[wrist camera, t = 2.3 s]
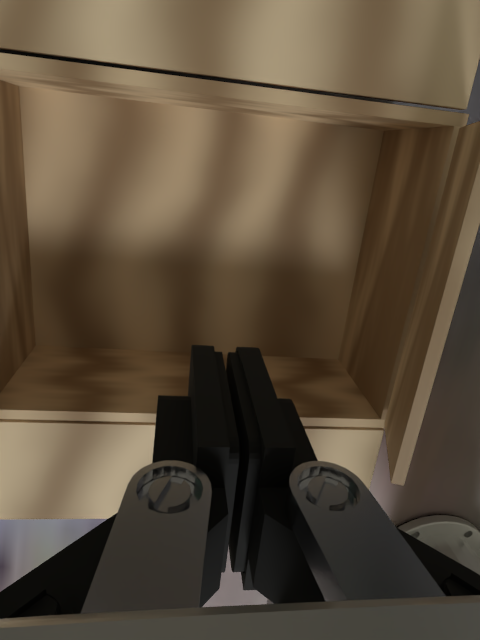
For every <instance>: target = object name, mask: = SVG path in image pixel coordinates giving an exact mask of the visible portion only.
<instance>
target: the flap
mask: <svg viewBox="0 0 480 640" xmlns="http://www.w3.org/2000/svg"><path fill="white" fill-rule="evenodd" d="M479 224H480V121H479V122H476V123H473V124H470V125H467V126H464V127H460V128H459V132H458V136H457V140H456V144H455V148H454V152H453V156H452V160H451V164H450V168H449V171H448V175H447V179H446V183H445V187H444V191H443V195H442V199H441V203H440V207H439V211H438V215H437V219H436V223H435V226H434V230H433V234H432V238H431V242H430V246H429V250H428V254H427V258H426V262H425V266H424V270H423V274H422V277H421V281H420V285H419V289H418V293H417V297H416V301H415V305H414V309H413V313H412V317H411V321H410V325H409V328H408V332H407V336H406V340H405V344H404V348H403V352H402V356H401V360H400V364H399V368H398V372H397V376H396V379H395V383H394V387H393V391H392V395H391V399H390V403H389V407H388V411H387V415H386V419H385V423H384V426H385V434H386V443H387V452H388V460H389V469H390V478H391V483H393V484H397V485H402V486H404V483H405V480H406V476H407V473H408V469H409V466H410V462H411V459H412V455H413V452H414V449H415V445H416V442H417V438H418V435H419V431H420V428H421V424H422V421H423V417H424V414H425V411H426V407H427V404H428V400H429V397H430V393H431V390H432V386H433V383H434V379H435V376H436V373H437V369H438V366H439V362H440V359H441V355H442V352H443V348H444V345H445V341H446V338H447V335H448V331H449V328H450V324H451V321H452V317H453V314H454V310H455V307H456V303H457V300H458V297H459V293H460V290H461V286H462V283H463V279H464V276H465V272H466V269H467V266H468V262H469V259H470V255H471V252H472V248H473V245H474V241H475V238H476V234H477V231H478V228H479Z"/></svg>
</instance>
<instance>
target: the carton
mask: <svg viewBox="0 0 480 640" xmlns="http://www.w3.org/2000/svg"><path fill="white" fill-rule="evenodd" d="M0 49H5V50H12V51H20V52H27V53H35V54H42V55H50V56H58V57H65V58H73V59H80V60H88V61H95V62H103V63H110V64H118V65H126V66H133V67H141V68H148V69H156V70H163V71H171V72H179V73H186V74H194V75H201V76H209V77H216V78H224V79H231V80H239V81H247V82H254V83H262V84H269V85H277V86H284V87H292V88H300V89H307V90H315V91H322V92H330V93H337V94H345V95H352V96H360V97H368V98H375V99H383V100H390V101H398V102H405V103H413V104H421V105H428V106H436V107H443V108H451V109H458V110H463V109H467V105H468V101H469V97H470V94H471V90H472V86H473V82H474V78H475V74H476V70H477V66H478V62H479V58H480V0H0ZM468 117H469V114H465V113H457V112H449V111H442V110H434V109H426V108H419V107H411V106H404V105H396V104H388V103H381V102H373V101H365V100H358V99H350V98H343V97H335V96H327V95H320V94H312V93H304V92H297V91H289V90H282V89H274V88H266V87H259V86H251V85H243V84H236V83H228V82H221V81H213V80H205V79H198V78H190V77H182V76H175V75H167V74H160V73H152V72H144V71H137V70H129V69H121V68H114V67H106V66H99V65H91V64H83V63H76V62H68V61H60V60H53V59H45V58H38V57H30V56H22V55H15V54H7V53H0V519H109V518H110V517H112V516H113V515H115V514H116V513H118V510H119V507H120V504H121V502H122V499H123V496H124V493H125V491H126V488H127V485H128V483H129V481H130V480H131V478H132V476H133V475H134V474H135V473H136V472H138V471H139V470H140V469H141V468H143V467H145V466H147V465H149V464H151V463H152V460H153V448H154V437H155V425H156V414H157V402H158V395H166V396H188V386H189V372H190V358H191V347H192V345H208V346H214V350H215V352H222V354H223V359H224V364H225V369H226V363H227V355H228V352H235V351H236V348H237V347H255V348H259V349H260V352H261V355H262V357H263V360H264V363H265V365H266V368H267V371H268V374H269V376H270V379H271V382H272V384H273V387H274V390H275V392H276V395H277V398H285V399H291V400H292V401H293V403H294V405H295V408H296V410H297V412H298V415H299V417H300V420H301V422H302V424H303V427H304V429H305V431H306V434H307V436H308V438H309V441H310V443H311V446H312V448H313V450H314V453H315V455H316V457H317V460H318V461H325V462H330V463H335V464H337V465H340V466H342V467H344V468H347V469H348V470H349V471H351V472H352V473H354V474H355V475H357V476H358V478H359V479H360V480H361V481H362V482H363V483H364V484H365V486H366V487H367V488H368V490H369V488H370V484H371V480H372V476H373V472H374V468H375V464H376V460H377V456H378V452H379V449H380V445H381V441H382V437H383V433H384V430H383V428H385V426H384V423H385V419H386V415H387V411H388V407H389V403H390V399H391V395H392V391H393V387H394V383H395V379H396V376H397V372H398V368H399V364H400V360H401V356H402V352H403V348H404V344H405V340H406V336H407V332H408V328H409V325H410V321H411V317H412V313H413V309H414V305H415V301H416V297H417V293H418V289H419V285H420V281H421V277H422V274H423V270H424V266H425V262H426V258H427V254H428V250H429V246H430V242H431V238H432V234H433V230H434V226H435V223H436V219H437V215H438V211H439V207H440V203H441V199H442V195H443V191H444V187H445V183H446V179H447V175H448V171H449V168H450V164H451V160H452V156H453V152H454V148H455V144H456V140H457V136H458V132H459V128H460V127H464V126H466V124H467V120H468Z"/></svg>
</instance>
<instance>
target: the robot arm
mask: <svg viewBox="0 0 480 640" xmlns="http://www.w3.org/2000/svg"><path fill="white" fill-rule="evenodd" d="M228 544H229V552H230V560H231V568H232V572H241V575H242V583H243V590H257V591H259V592H260V593H261V594H262V595H264V596H265V597H266V598H267V599H268V600H267V604H263V605H242V606H221V607H202V606H203V605H204V604H205V603H206V602H207V601H208V600H209V599H210V598H211V597H212V596H213V595H214V593H215V592H216V591H217V590H218V589H219V586H220V578H221V572H225V568H226V560H227V552H228ZM0 640H480V531H479V530H478V529H477V528H476V527H475V526H474V525H473V524H471V523H470V522H468V521H467V520H464V519H462V518H459V517H455V516H449V515H433V516H427V517H422V518H419V519H415V520H412V521H410V522H408V523H406V524H403V525H401V526H399V527H398V528H397V527H395V525H394V524H393V523H392V521H391V520H390V519H389V517H388V516H387V514H386V513H385V512H384V510H383V509H382V508H381V506H380V505H379V503H378V502H377V501H376V499H375V498H374V497H373V495H372V494H371V492H370V491H369V490H368V488H367V487H366V486H365V484H364V483H363V482H362V481H361V480H360V479H359V478H358V476H357V475H355V474H354V473H352V472H351V471H349V470H348V469H347V468H344V467H342V466H340V465H337V464H335V463H330V462H325V461H318V460H317V457H316V455H315V453H314V450H313V448H312V446H311V443H310V441H309V438H308V436H307V434H306V431H305V429H304V427H303V424H302V422H301V420H300V417H299V415H298V412H297V410H296V408H295V405H294V403H293V401H292V400H291V399H285V398H277V395H276V392H275V390H274V387H273V384H272V382H271V379H270V376H269V374H268V371H267V368H266V365H265V363H264V360H263V357H262V355H261V352H260V349H259V348H255V347H237V348H236V351H235V352H228V355H227V363H226V369H225V364H224V359H223V354H222V352H215V350H214V346H208V345H192V347H191V358H190V372H189V386H188V396H166V395H158V402H157V414H156V425H155V437H154V448H153V460H152V463H151V464H149V465H147V466H145V467H143V468H141V469H140V470H139V471H138V472H136V473H135V474H134V475H133V476H132V478H131V480H130V481H129V483H128V485H127V488H126V491H125V493H124V496H123V499H122V502H121V504H120V507H119V510H118V513H116V514H115V515H113V516H112V517H110V518H109V519H107V520H106V521H104V522H103V523H101V524H100V525H98V526H97V527H95V528H94V529H92V530H91V531H90V532H88V533H87V534H85V535H84V536H82V537H81V538H79V539H78V540H76V541H75V542H73V543H72V544H70V545H69V546H67V547H66V548H64V549H63V550H62V551H60V552H59V553H57V554H56V555H54V556H53V557H51V558H50V559H48V560H47V561H45V562H44V563H42V564H41V565H39V566H38V567H36V568H35V569H34V570H32V571H31V572H29V573H28V574H26V575H25V576H23V577H22V578H20V579H19V580H17V581H16V582H14V583H13V584H11V585H10V586H9V587H7V588H6V589H4V590H3V591H1V592H0Z"/></svg>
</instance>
